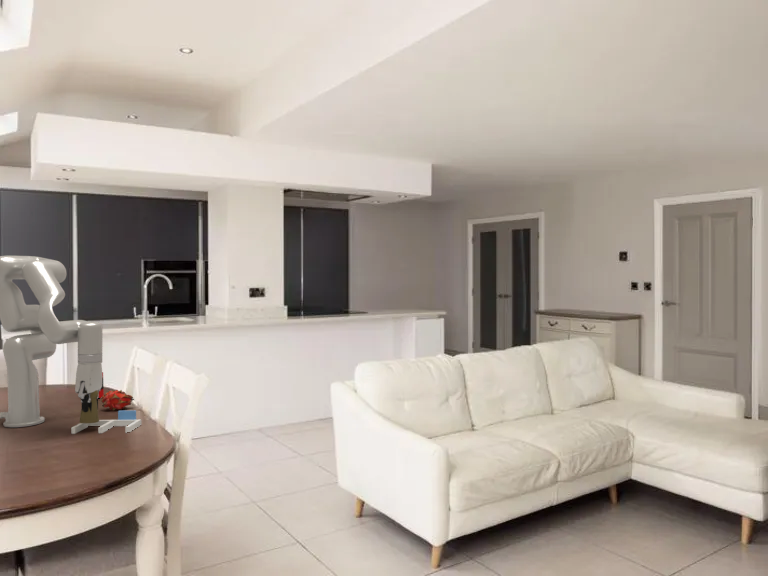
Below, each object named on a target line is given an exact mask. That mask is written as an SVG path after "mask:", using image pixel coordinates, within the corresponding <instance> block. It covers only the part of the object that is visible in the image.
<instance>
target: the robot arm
mask: <svg viewBox="0 0 768 576" xmlns="http://www.w3.org/2000/svg"><path fill="white" fill-rule="evenodd" d="M66 278H67V268H66V267H65V265H64V264H63V263H62V262H61V261H58V260H56V259H55V260H54V259H51V258H46V257H41V256H34V255H32V256H31V255H0V322H1V327H2V328H3V329H4V331H6V332H7V333H21V332H29V331H30V333H26V334H25V333H24V334H19V335H14V336H11V337H9V338H7V339H6V340H5V341H4V343H3V346H2V351H3V352H2V354H3V357H4V360H5V367H6V380H7V404H8V405H7V407H8V409H7V410H8V411H3V412H2V411H0V419H5V421H4V422H3V426H4V427H5V428H24V427H31V426H36V425H41V424H42V423H44V422H45V421H46V420H45V419H46V418H45V416H40V386H39V384H40V382H39V381H40V380H39V372H38V371H39V370H38V369H37V367H36V365H35V364H34V362H33V361H35V360H36V361H37V360H42V359H43V360H44V359H46V358H47V359H48V358H51V357H52V356H53V355H54V354H55V353H56V350H57V345H63V344H70V343H77V367H76V372H75V388H74V389H75V391H74V392H75V394H77V397H78V398H79V399H80V403H81V409H82V411H83V412H88V410H89V408H90V411H91V410H92V402H91V393H92V392H94V391H96V390H97V391H98V397H97V398H96V400H97V408H98V409H99V399H98V398H99V391H100V389H101V387H102V372H103V366H102V363H103V324H102V323H101V322H98V321H86V320H85V319H74V320H73V319H72V320H63V321H62V320H61V321H59V319H58V318H57V317H56V315H55V312H54V310H53V307H55V306H57V305H58V304H60V303H62V301H63V300H65V299H64V298H65V296H66V293H65V290H64V289H63V287H62V285H61V284H60V283H63V282H64V281H65V280H66ZM13 280H25V282H26V283H27V285H28V286H29V287H30V290H31V291H32V293H33V295H34V296H35V298H36V299H37V301H38V303H39V304H26V302H25V298H24V295H23V291H22V290H21V289H20V288H19V287H18V285H17V284H16V283H15V282H13ZM85 391H87V393H84V392H85ZM85 395H88V397H87V396H85Z"/></svg>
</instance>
